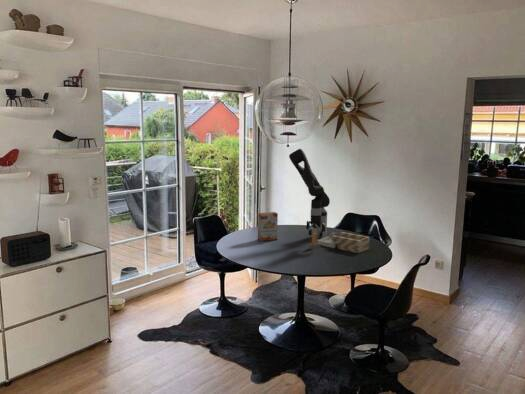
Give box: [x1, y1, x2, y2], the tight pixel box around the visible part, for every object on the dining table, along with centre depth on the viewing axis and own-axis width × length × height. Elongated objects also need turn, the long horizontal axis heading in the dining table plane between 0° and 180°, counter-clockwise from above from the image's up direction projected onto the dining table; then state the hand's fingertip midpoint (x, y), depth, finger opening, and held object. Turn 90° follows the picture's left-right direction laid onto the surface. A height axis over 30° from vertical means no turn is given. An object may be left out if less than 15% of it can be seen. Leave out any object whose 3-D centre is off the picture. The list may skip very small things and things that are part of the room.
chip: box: [329, 231, 338, 239], centre depth 329 cm, size 4×4×4 cm
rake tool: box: [308, 232, 321, 251], centre depth 320 cm, size 4×8×10 cm, turn 139°
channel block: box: [331, 231, 371, 254], centre depth 321 cm, size 22×15×8 cm
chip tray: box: [318, 235, 338, 249], centre depth 331 cm, size 15×16×3 cm
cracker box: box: [257, 211, 279, 242], centre depth 339 cm, size 14×6×21 cm, turn 112°
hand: (315, 236), depth 319 cm, fingers open, 8 cm apart
